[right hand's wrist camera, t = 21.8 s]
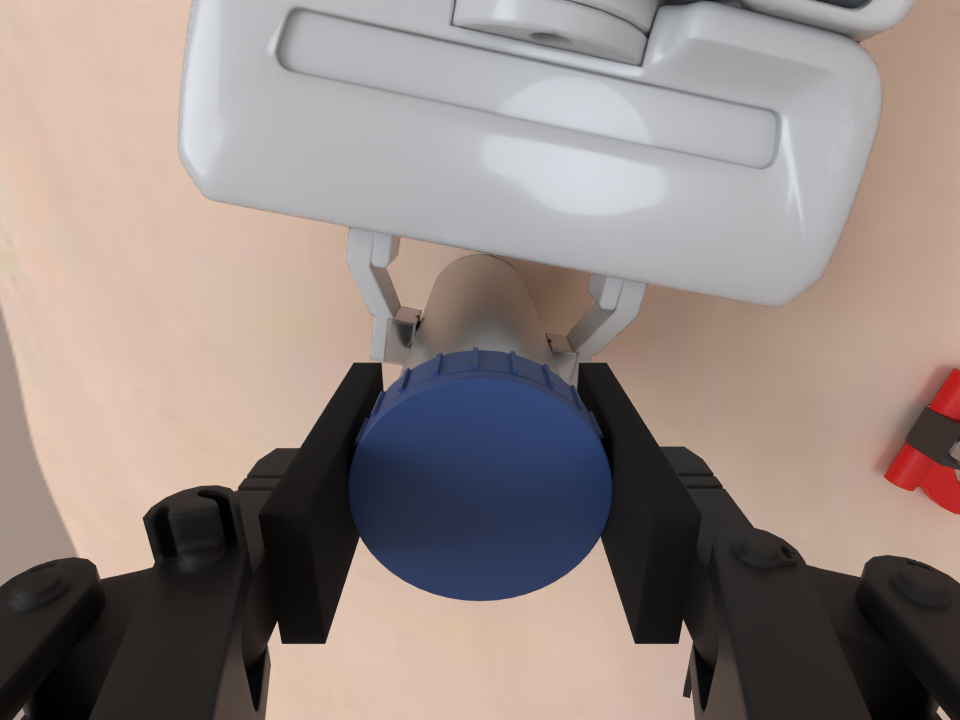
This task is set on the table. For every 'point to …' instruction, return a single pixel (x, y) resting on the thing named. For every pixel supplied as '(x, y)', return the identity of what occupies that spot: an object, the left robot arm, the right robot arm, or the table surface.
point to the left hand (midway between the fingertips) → (476, 373)
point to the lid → (480, 477)
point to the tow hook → (933, 449)
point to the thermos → (480, 314)
